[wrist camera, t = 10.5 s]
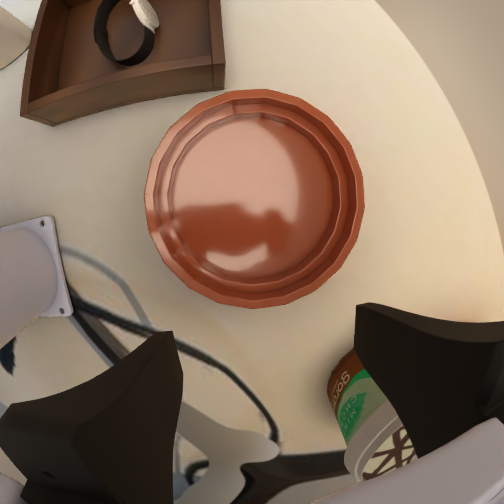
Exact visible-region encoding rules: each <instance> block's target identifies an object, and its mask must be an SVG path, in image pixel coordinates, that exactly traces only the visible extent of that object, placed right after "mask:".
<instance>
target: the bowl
mask: <svg viewBox="0 0 504 504" xmlns="http://www.w3.org/2000/svg"><path fill="white" fill-rule="evenodd" d="M151 159H152V160H151V162H150V167H149V171H148V176H147V181H146V186H145V191H144V201H145V209H146V217H147V224H148V230H149V233H150V235H151V237H152V239H153V241H154V243H155V246H156V248H157V250H158V252H159V254H160V256H161V258H162V260H163V262H165V264H166V265H167V266H168V267H169V268H170V269H171V270H172V271H173V272H174V273H175V274H176V275H177V276H178V278H179V279H180V280H181V281H182V282H183V283H184V284H185V285H186V286H187V287H189V288H190V289H192V290H194V291H196V292H198V293H200V294H202V295H203V296H205V297H207V298H209V299H211V300H213V301H215V302H217V303H220V304H225V305H231V306H237V307H243V308H249V309H252V308H253V309H257V308H265V307H272V306H279V305H285V304H288V303H290V302H292V301H295V300H297V299H299V298H301V297H303V296H305V295H307V294H310V293H312V292H314V291H315V290H317V289H318V288H319V287H320V286H321V285H322V284H324V283H325V282H326V281H327V280H328V279H329V278H330V277H331V276H332V275H333V274H335V273H336V272H337V271H338V270H339V269H340V268H341V266H342V265H343V263H344V261H345V260H346V258H347V256H348V255H349V253H350V251H351V250H352V248H353V246H354V245H355V243H356V241H357V238H358V234H359V230H360V226H361V222H362V218H363V213H364V207H365V205H364V187H363V176H362V172H361V169H360V167H359V164H358V161H357V159H356V156H355V154H354V151H353V149H352V146H351V144H350V142H349V141H348V140H347V139H346V137H345V136H344V135H343V133H342V132H341V131H340V130H339V128H338V127H337V126H336V125H335V124H334V122H333V121H332V120H331V119H330V118H329V117H328V116H327V115H325V114H324V113H322V112H321V111H319V110H318V109H316V108H315V107H313V106H312V105H310V104H309V103H307V102H306V101H304V100H302V99H300V98H298V97H294V96H291V95H287V94H284V93H280V92H276V91H273V90H269V89H267V90H266V89H252V90H236V91H229V92H227V93H224V94H221V95H219V96H216V97H214V98H211V99H209V100H206V101H204V102H202V103H199V104H198V105H196V106H195V107H193V108H192V109H191V110H190V111H189V112H187V113H186V114H185V115H184V116H183V117H182V118H180V119H179V120H178V121H177V122H176V123H175V124H174V125H172V126H171V127H170V128H169V130H168V131H167V133H166V134H165V136H164V138H163V139H162V141H161V143H160V145H159V146H158V148H157V150H156V151H155V153H154V155H153V157H152V158H151Z"/></svg>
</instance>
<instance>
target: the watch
mask: <svg viewBox="0 0 504 504" xmlns="http://www.w3.org/2000/svg"><path fill="white" fill-rule="evenodd" d="M119 1H121V0H103V1H102V2H101V3H100V5H99V7H98V9H97V12H96V16H95V21H94V30H93V32H94V40H95V42H96V43H97V44H98V47H99V49H100V51H101V52H102V54H103V55H104V56H105V57H107V58H108V59H110V60H112V61H114V62H117V63H119V64H121V65H124V66H134V65H138V64H140V63H142V62H143V61H144V60H145V59H146V58H147V57H148V56H149V55H150V53H151V51H152V49H153V47H154V41H155V37H154V34H155V31H154V30H155V28H157V27H158V26H159V21H158V18H157V15H156V13H155V11H154V10H153V8H152V6H151V5H150V3H149V2H148V1H147V0H131V2H130V3H129V4H130V5H132V6H133V9H134V11H135V13H136V15H137V17H138V18H139V20H140V21H141V23H142V24H143V26H144V39H143V42H142V44H141V46H140V48H139V50H138V51H137V52H136V53H135V54H133V55H132V56H130V57H129V58H126V59H122V60H117V59H115V57H114V56H113V54H112V52H111V50H110V46H109V42H108V31H107V30H106V27H107V20H108V16H109V14H110V12H111V11H112V9H113V8H114V6H115V5H116V4H117V3H118V2H119Z"/></svg>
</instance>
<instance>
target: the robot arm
mask: <svg viewBox="0 0 504 504" xmlns="http://www.w3.org/2000/svg"><path fill="white" fill-rule="evenodd" d="M42 221H44V222H45V225H43V224H42ZM61 308H63V309H64V312H63V311H62V309H61ZM72 313H73V307H72V303H71V300H70V296H69V292H68V288H67V285H66V280H65V276H64V272H63V268H62V263H61V258H60V253H59V248H58V243H57V237H56V231H55V224H54V219H53V217H52V216H50V215H47V216H43V217H39V218H35V219H31V220H27V221H23V222H19V223H15V224H11V225H8V226H4V227H0V349H1V348H2V347H3V346H4V345H5V344H7V343H8V342H9V341H10V340H11V339H12V338H13V337H15V336H16V335H17V334H18V333H19V332H20V331H22V330H23V329H24V328H25V327H26V326H27V325H29V324H30V323H31V322H32V321H33V320H35V319H36V318H37V317H62V316H70V315H71V314H72ZM354 350H355V352H356V354H357V356H358V358H359V360H360V362H361V364H362V365H363V367H364V368H365V370H366V371H367V372H368V374H369V375H370V376H371V378H372V379H373V380H374V382H375V383H376V384H377V386H378V387H379V388H380V390H381V391H382V392H383V394H384V395H385V396H386V398H387V399H388V400H389V402H390V403H391V405H392V406H393V408H394V409H395V411H396V413H397V415H398V417H399V418H400V420H401V422H402V424H403V426H404V428H405V430H406V432H407V434H408V436H409V438H410V440H411V443H412V445H413V447H414V450H415V452H416V455H417V457H418V459H417V460H415V461H413V462H410V463H408V464H406V465H404V466H402V467H399V468H397V469H395V470H392V471H390V472H388V473H385V474H383V475H380V476H378V477H375V478H372V479H369V480H367V481H364V482H361V483H358V484H355V485H353V486H350V487H348V488H345V489H343V490H340V491H338V492H335V493H333V494H330V495H327V496H324V497H322V498H319V499H317V500H316V501H314V502H312V503H310V504H504V321H500V322H486V323H471V322H455V321H447V320H440V319H435V318H430V317H426V316H421V315H417V314H413V313H410V312H406V311H402V310H399V309H395V308H392V307H388V306H385V305H381V304H376V303H364V304H359V305H356V318H355V335H354ZM182 393H183V371H182V367H181V364H180V360H179V356H178V352H177V348H176V344H175V340H174V335H173V331H163V332H156V333H155V334H153V335H152V336H151V337H149V338H148V339H147V340H146V341H145V342H143V343H142V344H141V345H140V346H138V347H137V348H136V349H135V350H134V351H132V352H131V353H130V354H129V355H127V356H126V357H125V358H123V359H122V360H121V361H119V362H118V363H116V364H115V365H114V366H112V367H111V368H109V369H108V370H106V371H105V372H103V373H101V374H100V375H98V376H96V377H94V378H93V379H91V380H89V381H87V382H85V383H82V384H80V385H78V386H76V387H73V388H71V389H69V390H66V391H64V392H61V393H58V394H55V395H51V396H48V397H45V398H41V399H36V400H31V401H25V402H20V403H13V404H11V405H10V406H9V408H8V409H7V410H6V412H5V413H4V414H3V416H2V417H1V418H0V447H1V448H2V450H3V451H4V452H5V454H6V455H7V456H8V457H9V459H10V460H11V461H12V462H13V463H14V465H15V466H16V467H17V468H18V469H19V470H20V471H21V473H22V474H23V475H24V476H25V477H26V478H27V479H28V480H27V482H26V484H25V486H24V485H22V484H21V483H20V482H18V481H17V480H15V479H13V478H11V477H8V476H6V475H4V474H2V473H0V504H173V446H174V438H175V432H176V427H177V421H178V416H179V410H180V405H181V400H182Z"/></svg>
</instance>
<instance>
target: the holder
mask: <svg viewBox="0 0 504 504" xmlns="http://www.w3.org/2000/svg"><path fill="white" fill-rule="evenodd" d="M102 1H103V0H42V2H41V5H40V8H39V11H38V14H37V18H36V21H35V25H34V29H33V33H32V37H31V41H30V46H29V51H28V56H27V61H26V67H25V73H24V80H23V88H22V97H21V108H20V116H21V117H24V118H27V119H30V120H34V121H37V122H40V123H43V124H46V125H50V126H52V127H53V126H56V125H58V124H61V123H64V122H67V121H70V120H73V119H76V118H79V117H83V116H86V115H89V114H93V113H96V112H100V111H103V110H107V109H111V108H115V107H119V106H123V105H127V104H132V103H136V102H141V101H146V100H151V99H156V98H162V97H167V96H174V95H180V94H187V93H194V92H202V91H211V90H221V89H224V80H225V53H224V41H223V30H222V18H221V6H220V0H147V1H148V2H149V3H150V5H151V6H152V8H153V10H154V11H155V13H156V15H157V18H158V21H159V26H158V27H157V28H155V30H154V31H155V34H154V37H155V41H154V47H153V49H152V51H151V53H150V55H149V56H148V57H147V58H146V59H145V60H144V61H143V62H142V63H140V64H138V65H134V66H124V65H121V64H119V63H117V62H114V61H112V60H110V59H108V58H107V57H105V56H104V55H103V54H102V52H101V51H100V49H99V47H98V44H97V43H96V42H95V40H94V32H93V30H94V21H95V16H96V12H97V9H98V7H99V5H100V3H101V2H102ZM130 2H131V0H121V1H119V2H118V3H117V4H116V5H115V6H114V8H113V9H112V11H111V12H110V14H109V16H108V20H107V27H106V30H107V31H108V42H109V46H110V50H111V52H112V54H113V56H114V57H115V59H117V60H122V59H126V58H129V57H130V56H132V55H133V54H135V53H136V52H137V51H138V50H139V48H140V46H141V44H142V42H143V39H144V26H143V24H142V23H141V21H140V20H139V18H138V17H137V15H136V13H135V11H134V9H133V6H132V5H130V4H129V3H130Z"/></svg>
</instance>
